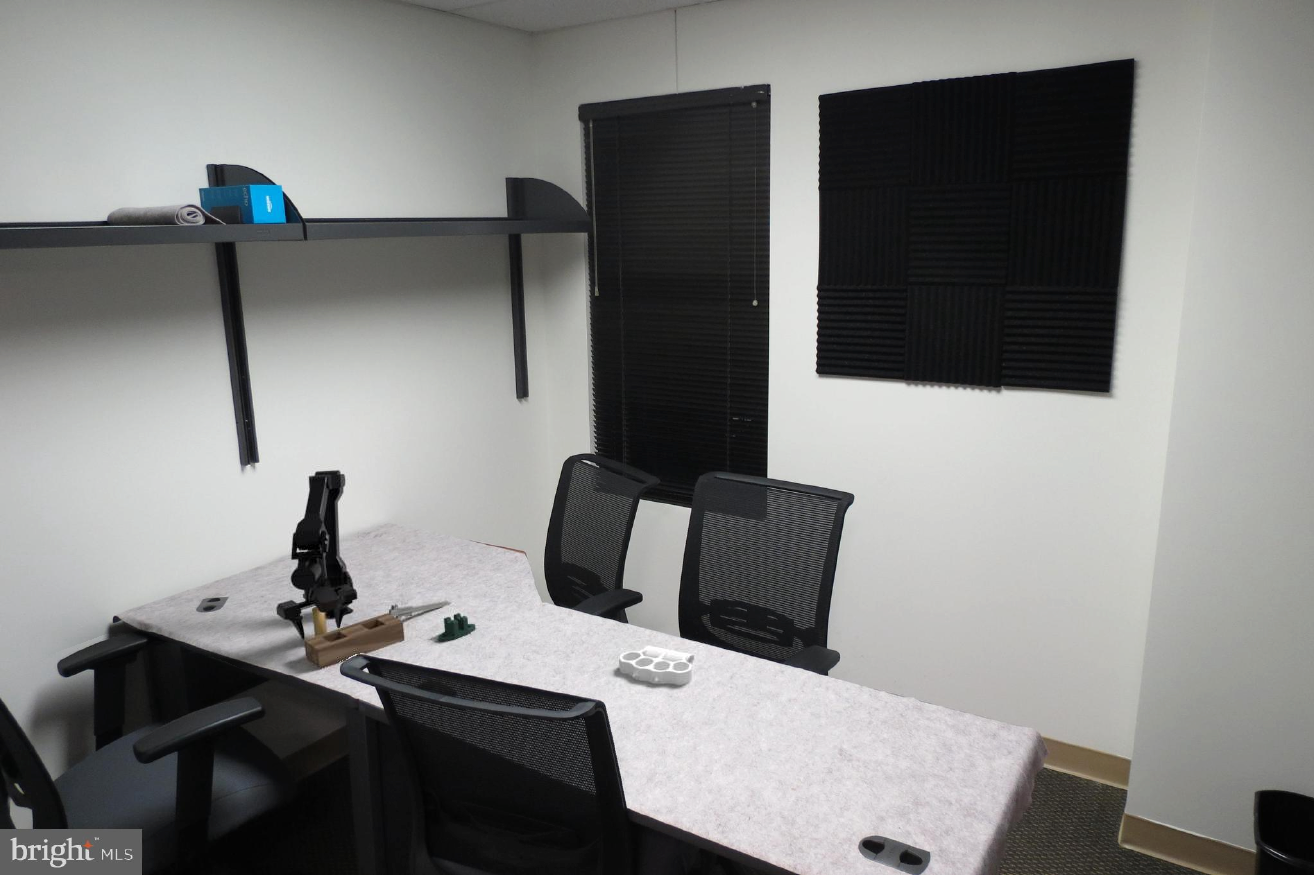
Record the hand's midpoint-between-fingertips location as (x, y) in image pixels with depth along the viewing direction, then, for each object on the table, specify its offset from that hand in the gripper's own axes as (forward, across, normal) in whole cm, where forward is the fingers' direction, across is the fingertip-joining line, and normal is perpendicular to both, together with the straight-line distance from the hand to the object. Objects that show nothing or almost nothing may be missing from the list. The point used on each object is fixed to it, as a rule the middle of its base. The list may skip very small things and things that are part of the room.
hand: (321, 633), depth 228 cm
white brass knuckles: (+3, +48, -74) cm, 88 cm away
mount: (+3, +26, -22) cm, 34 cm away
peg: (+2, 0, 0) cm, 2 cm away
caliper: (+3, +26, -4) cm, 26 cm away
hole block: (+2, +4, -11) cm, 12 cm away
